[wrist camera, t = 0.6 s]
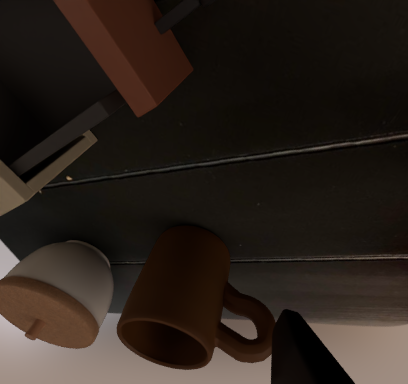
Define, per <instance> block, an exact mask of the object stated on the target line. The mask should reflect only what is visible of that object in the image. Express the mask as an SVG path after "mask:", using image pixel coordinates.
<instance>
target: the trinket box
mask: <svg viewBox="0 0 408 384" xmlns="http://www.w3.org/2000/svg"><path fill="white" fill-rule="evenodd" d="M113 289H114V283H113V276H112V273H111V270H110V263H109V261H108V259H107V257H106V256H105V255H104V254H103V253H102V252H101V251H100V250H99V249H97V248H96V247H94V246H92V245H90V244H88V243H86V242H83V241H78V240H69V241H66V242H60V243H53V244H50V245H47V246H44V247H42V248H40V249H38V250H36V251H34V252H33V253H31V254H30V255H28V256H27V257H25V258H24V259H23V260H22V261H20V262H19V263H18V264H17V265H16V266H15V267H14V268H13V269H12V270H11V271H10V272H9V273H8V274H7V275H6V276H5V277H4V278H3V279H1V280H0V314H1V315H2V316H3V317H4V318H5V319H7V320H8V321H9V322H10V323H12V324H13V325H15V326H16V327H18V328H19V329H21V330H22V331H24V332H26V334H25V336H26V337H27V338H29V339H31V340H35V339H36V338H38V339H40V340H42V341H46V342H48V343H50V344H54V345H58V346H61V347H66V348H76V349H77V348H85V347H88V346H90V345H91V344H92V343H93V342H94V341H95V339H96V337H97V335H98V332H99V328H100V326H101V325H102V323H103V321H104V319H105V317H106V314H107V312H108V310H109V307H110V304H111V300H112V297H113Z"/></svg>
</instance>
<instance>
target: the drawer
mask: <svg viewBox="0 0 408 384" xmlns="http://www.w3.org/2000/svg"><path fill="white" fill-rule="evenodd" d="M215 1H216V0H182V1H181V2H180V3H179V4H178V5H176V6H175V7H174V8H173V9H171V10H170V11H169V12H168V13H166V14H165V15H164V16H162V14H161V12H160V10H159V9H158V7H157V5H156V4H155V2H154V0H0V160H1V161H2V162H3V163H4V164H5V165H6V166H7V167H8V168H9V169H10V170H12V171H13V172H14V173H15V174H16V175H17V176H18V177H19V176H20V175H22V174H23V173H25V172H26V171H28V170H29V169H31V168H32V167H34V166H35V165H37V164H38V163H40V162H41V161H43V160H44V159H46V158H47V157H49V156H50V155H52V154H53V153H55V152H56V151H58V150H59V149H61V148H62V147H64V146H65V145H67V144H68V143H70V142H72V141H73V140H75V139H76V138H78V137H79V136H81V135H82V134H84V133H85V132H87V131H88V130H90V129H91V128H93V127H94V126H96V125H97V124H99V123H100V122H102V121H103V120H105V119H106V118H108V117H109V116H111V115H112V114H113V113H114V112H116V111H117V110H118V109H120V108H121V107H122V106H123V105H125V104H126V103H128V105H129V106H130V108H131V109H132V110H133V112H134V113H135V114H136V116H137V117H140V116H142V115H144V114H145V113H147V112H149V111H150V110H152V109H153V108H155V107H157V106H158V105H159V104H160V103H161V102H162V101H163V100H164V99H165V98H166V97H167V96H168V95H169V94H170V93H171V92H172V91H173V90H174V89H175V88H176V87H177V86H178V85H179V84H180V83H181V82H182V81H183V80H184V79H185V78H186V77H187V76H188V75H189V74H190V73H191V72H192V71H193V68H192V66H191V64H190V62H189V61H188V59H187V57H186V55H185V54H184V52H183V50H182V49H181V47H180V45H179V43H178V42H177V40H176V38H175V36H174V35H173V33H172V31H171V28H172V27H173V26H175V25H176V24H177V23H179V22H180V21H181V20H183V19H184V18H185V17H186V16H188V15H189V14H190V13H192V12H193V11H194V10H196V9H197V8H198V7H200V6H201V5H202V6H203V8H205V7H207V6H209V5H210V4H212V3H213V2H215Z"/></svg>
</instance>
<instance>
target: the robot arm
mask: <svg viewBox="0 0 408 384" xmlns="http://www.w3.org/2000/svg"><path fill="white" fill-rule="evenodd" d="M271 361H272V362H271V384H355V383H354V382H353V380H352V379H351V378H350V377H349V375H348V374H347V373H346V372H345V371H344V369H343V368H342V367H341V365H340V364H339V363H338V362H337V360H336V359H335V358H334V357H333V355H332V354H331V353H330V352H329V350H328V349H327V348H326V347H325V345H324V344H323V343H322V341H321V340H320V339H319V338H318V337H317V335H316V334H315V333H314V332H313V330H312V329H311V328H310V326H309V325H308V324H307V323H306V321H305V320H304V319H303V318H302V316H301V315H300V314H299V313H298V312H295V311H291V310H288V309H284V310H283V311H282V313H281V315H280V316H279V318H278V320H277V322H276V324H275V326H274V328H273V332H272V360H271Z"/></svg>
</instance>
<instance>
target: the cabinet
mask: <svg viewBox="0 0 408 384" xmlns="http://www.w3.org/2000/svg"><path fill="white" fill-rule="evenodd" d="M96 141H97V138H96V137H95V136H94V135H93V134H92V132H91V131H90V130H88V131H87V132H85V133H84V134H82V135H81V136H79V137H78V138H76V139H75V140H73V141H72V142H70V143H68V144H67V145H65V146H64V147H62V148H61V149H59V150H58V151H56V152H55V153H53V154H52V155H50V156H49V157H47V158H46V159H44V160H43V161H41V162H40V163H38V164H37V165H35V166H34V167H32V168H31V169H29V170H28V171H26V172H25V173H23V174H22V175H20V176H19V177H18V176H17V175H16V174H15V173H14V172H13V171H12V170H10V169H9V168H8V167H7V166H6V165H5V164H4V163H3V162H2V161H1V160H0V216H2V215H3V214H5V213H7V212H9V211H10V210H12V209H14V208H16V207H17V206H19V205H21V204H23V203H24V202H26V201H28V200H29V199H30V198H31V197H32V196H33V195H34V194H35V193H37V192H38V191H39V190H40V189H41V188H43V187H44V186H45V185H46V184H47V183H48V182H50V181H51V180H52V179H53V178H54V177H56V176H57V175H58V174H59V173H60V172H61V171H63V170H64V169H65V168H66V167H67V166H68V165H70V164H71V163H72V162H73V161H74V160H75V159H77V158H78V157H79V156H80V155H81V154H82V153H84V152H85V151H86V150H87V149H88V148H89V147H91V146H92V145H93V144H94V143H95V142H96Z"/></svg>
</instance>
